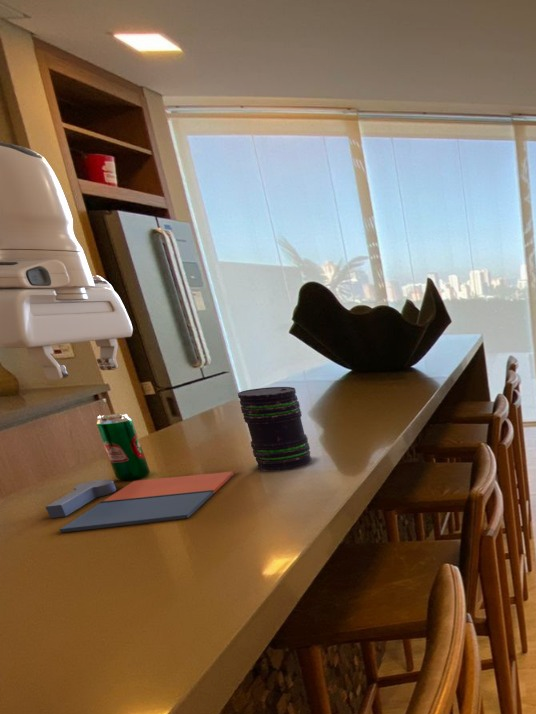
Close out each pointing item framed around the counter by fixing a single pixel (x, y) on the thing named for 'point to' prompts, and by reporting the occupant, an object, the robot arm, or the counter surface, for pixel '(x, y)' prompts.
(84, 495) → the rounded-end blue bar
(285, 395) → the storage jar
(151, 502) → the sorting mat
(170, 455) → the counter surface
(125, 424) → the soda can
